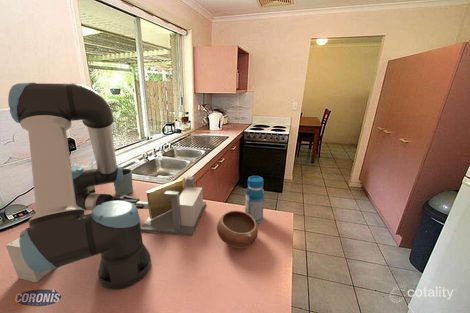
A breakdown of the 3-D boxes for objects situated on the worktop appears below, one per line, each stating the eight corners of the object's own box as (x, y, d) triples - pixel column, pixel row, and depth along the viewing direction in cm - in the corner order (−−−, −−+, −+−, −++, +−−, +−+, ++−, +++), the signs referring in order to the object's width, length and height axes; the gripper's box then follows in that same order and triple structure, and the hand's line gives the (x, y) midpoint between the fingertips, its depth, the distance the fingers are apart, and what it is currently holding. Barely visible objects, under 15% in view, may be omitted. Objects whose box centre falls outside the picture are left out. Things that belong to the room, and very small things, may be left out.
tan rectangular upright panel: (187, 202, 106) (186, 178, 102) (152, 219, 92) (149, 192, 87) (184, 200, 107) (183, 177, 103) (149, 217, 93) (146, 191, 89)
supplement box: (37, 283, 64) (24, 249, 60) (17, 278, 65) (4, 245, 61) (60, 264, 71) (51, 232, 67) (42, 260, 72) (32, 229, 68)
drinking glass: (128, 186, 125) (125, 167, 121) (138, 191, 120) (135, 171, 116) (110, 192, 117) (107, 172, 113) (120, 198, 112) (116, 177, 108)
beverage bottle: (255, 226, 92) (257, 184, 85) (240, 218, 97) (241, 178, 91) (266, 218, 97) (269, 178, 91) (251, 211, 103) (254, 173, 96)
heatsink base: (205, 204, 108) (204, 172, 103) (192, 235, 85) (190, 197, 80) (163, 201, 110) (160, 170, 104) (139, 231, 87) (134, 193, 82)
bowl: (250, 260, 74) (252, 236, 71) (210, 248, 79) (209, 225, 76) (261, 233, 88) (262, 212, 85) (226, 224, 93) (226, 204, 90)
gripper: (111, 202, 102) (158, 205, 100) (91, 218, 90) (145, 222, 88) (108, 188, 100) (157, 191, 98) (88, 202, 87) (143, 206, 85)
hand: (151, 205), depth 93 cm, fingers closed
